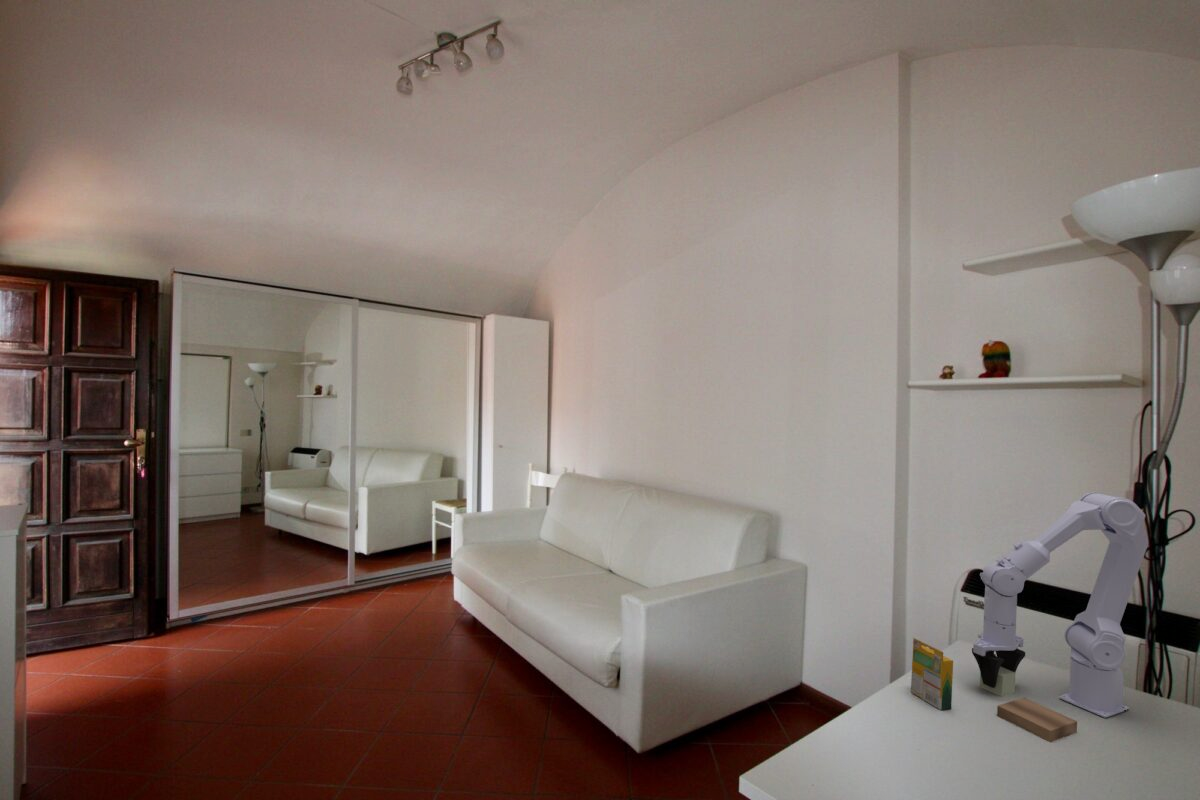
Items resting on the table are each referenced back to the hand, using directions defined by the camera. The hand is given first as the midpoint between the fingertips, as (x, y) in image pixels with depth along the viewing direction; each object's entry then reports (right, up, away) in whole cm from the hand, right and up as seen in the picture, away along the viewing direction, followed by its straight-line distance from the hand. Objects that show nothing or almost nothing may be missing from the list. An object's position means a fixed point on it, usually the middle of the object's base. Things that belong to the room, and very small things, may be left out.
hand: (997, 683), depth 119 cm
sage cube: (0, -2, 0) cm, 2 cm away
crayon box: (-18, -1, -6) cm, 19 cm away
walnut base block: (-2, -2, -13) cm, 13 cm away
